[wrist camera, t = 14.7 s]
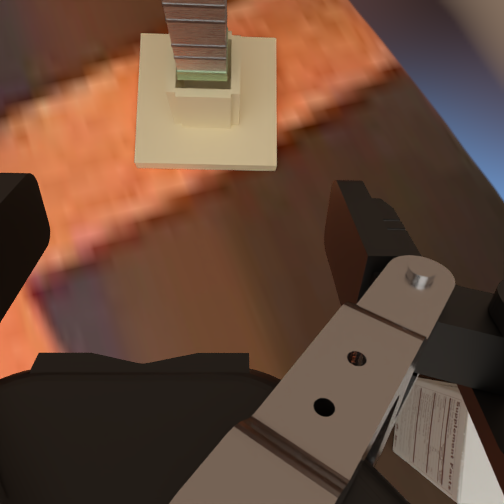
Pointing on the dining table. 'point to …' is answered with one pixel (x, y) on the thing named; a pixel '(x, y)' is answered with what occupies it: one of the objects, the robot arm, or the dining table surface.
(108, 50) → the dining table surface
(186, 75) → the column
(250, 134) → the stand base
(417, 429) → the supplement box
